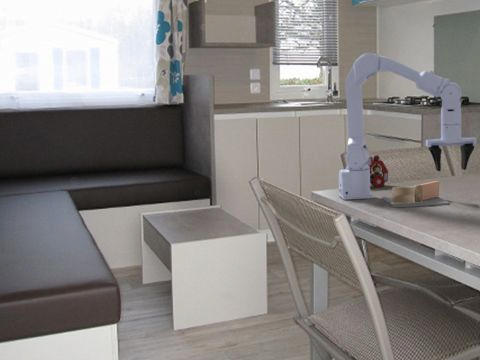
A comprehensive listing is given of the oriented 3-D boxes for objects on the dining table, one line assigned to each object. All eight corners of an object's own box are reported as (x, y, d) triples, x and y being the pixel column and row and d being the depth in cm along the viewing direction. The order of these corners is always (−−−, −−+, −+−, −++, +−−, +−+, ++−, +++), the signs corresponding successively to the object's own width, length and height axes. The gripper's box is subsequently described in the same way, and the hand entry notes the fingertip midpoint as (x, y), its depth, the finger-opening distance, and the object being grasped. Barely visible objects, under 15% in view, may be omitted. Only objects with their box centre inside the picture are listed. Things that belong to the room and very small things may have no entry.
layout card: (394, 207, 201) (394, 205, 201) (381, 198, 215) (381, 196, 215) (449, 204, 202) (449, 202, 202) (433, 195, 216) (433, 194, 216)
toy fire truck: (390, 187, 235) (390, 156, 233) (353, 189, 234) (352, 157, 233) (385, 183, 241) (385, 153, 240) (349, 185, 241) (348, 155, 240)
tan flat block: (422, 200, 206) (422, 184, 205) (418, 199, 207) (418, 184, 206) (439, 196, 211) (439, 181, 210) (435, 195, 212) (435, 180, 211)
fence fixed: (394, 203, 204) (393, 187, 203) (392, 202, 206) (391, 186, 205) (422, 202, 205) (422, 185, 204) (420, 200, 207) (420, 184, 206)
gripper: (470, 121, 212) (470, 166, 214) (422, 124, 211) (422, 169, 214) (479, 123, 205) (479, 170, 207) (429, 126, 204) (430, 172, 207)
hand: (451, 170), depth 210 cm, fingers open, 7 cm apart
